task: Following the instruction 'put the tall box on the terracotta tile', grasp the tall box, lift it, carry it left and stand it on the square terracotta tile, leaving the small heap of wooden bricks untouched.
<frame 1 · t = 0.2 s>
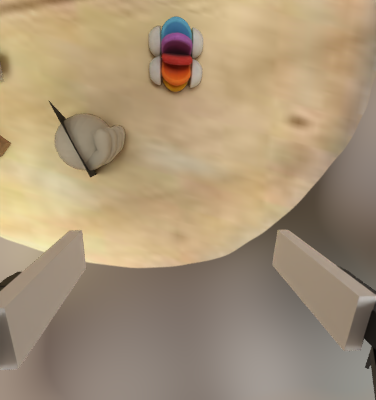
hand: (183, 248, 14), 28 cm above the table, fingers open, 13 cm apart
decorative object: (103, 140, 38), on the table
rainbow disc rolling toy: (175, 63, 36), on the table
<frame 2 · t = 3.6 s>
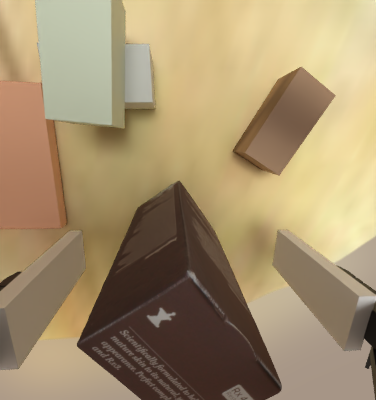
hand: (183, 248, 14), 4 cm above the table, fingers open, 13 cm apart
box: (176, 221, 18), on the table
pale green brick: (97, 70, 12), point 3 cm above the table, touching grey brick
walnut brick: (268, 127, 17), on the table
grey brick: (111, 86, 15), on the table, touching pale green brick
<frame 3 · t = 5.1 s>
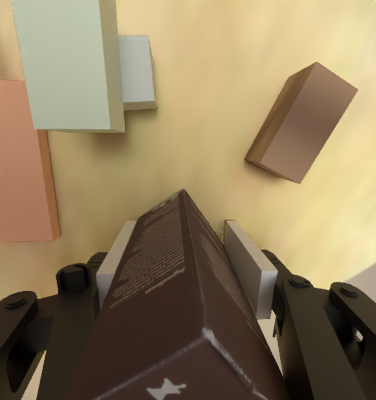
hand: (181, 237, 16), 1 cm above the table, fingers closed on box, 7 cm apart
box: (181, 232, 17), on the table, touching gripper
pale green brick: (90, 70, 11), point 3 cm above the table, touching grey brick
walnut brick: (281, 130, 15), on the table
grey brick: (108, 86, 14), on the table, touching pale green brick
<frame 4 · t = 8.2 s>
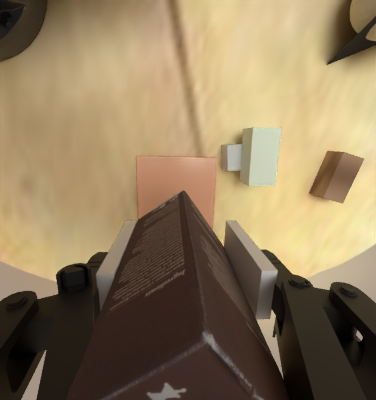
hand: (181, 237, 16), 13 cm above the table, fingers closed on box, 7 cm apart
box: (181, 233, 17), point 12 cm above the table, touching gripper
decorative object: (359, 13, 25), on the table
pale green brick: (253, 155, 25), point 3 cm above the table, touching grey brick
walnut brick: (326, 175, 30), on the table
tile: (176, 194, 28), on the table
grey brick: (243, 155, 28), on the table, touching pale green brick
when the fingers open (2 cm above the table, at t = 10.7 s): box stays where it is, resting on tile.
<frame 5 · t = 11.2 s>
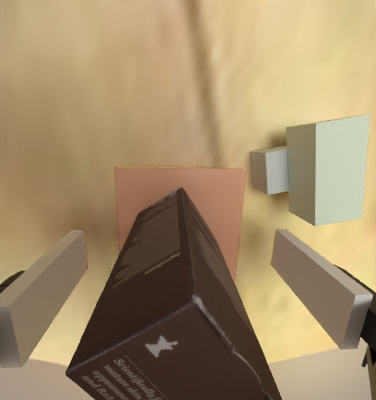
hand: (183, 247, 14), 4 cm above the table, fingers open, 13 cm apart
box: (177, 228, 18), point 1 cm above the table, touching tile
pale green brick: (308, 167, 15), point 3 cm above the table, touching grey brick
tile: (180, 225, 18), on the table
grey brick: (285, 163, 18), on the table, touching pale green brick
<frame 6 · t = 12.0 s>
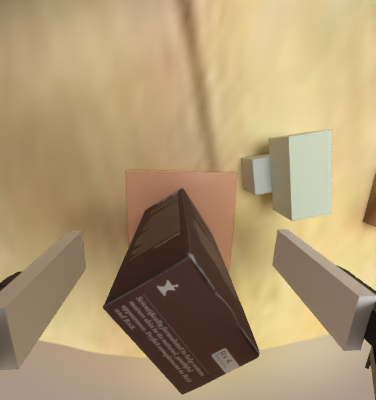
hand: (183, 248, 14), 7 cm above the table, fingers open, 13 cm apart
box: (179, 224, 20), point 1 cm above the table, touching tile
pale green brick: (288, 172, 18), point 3 cm above the table, touching grey brick
tile: (181, 221, 21), on the table
grey brick: (272, 168, 21), on the table, touching pale green brick
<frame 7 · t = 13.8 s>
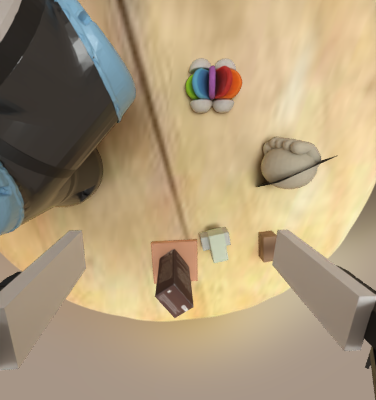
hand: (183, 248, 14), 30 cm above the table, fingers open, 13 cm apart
box: (174, 262, 48), point 1 cm above the table, touching tile
decorative object: (271, 160, 45), on the table
pale green brick: (215, 241, 45), point 3 cm above the table, touching grey brick
walnut brick: (264, 243, 49), on the table
tile: (175, 260, 49), on the table
rainbow disc rolling toy: (210, 90, 40), on the table
grey brick: (213, 235, 48), on the table, touching pale green brick
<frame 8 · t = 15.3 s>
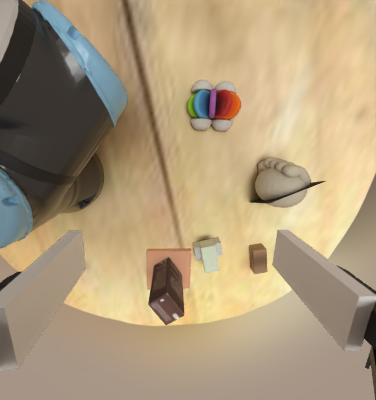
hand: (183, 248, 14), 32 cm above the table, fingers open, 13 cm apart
box: (167, 270, 50), point 1 cm above the table, touching tile
decorative object: (265, 177, 47), on the table
pale green brick: (207, 252, 47), point 3 cm above the table, touching grey brick
walnut brick: (255, 255, 52), on the table
tile: (168, 268, 50), on the table
rainbow disc rolling toy: (210, 108, 42), on the table
grey brick: (206, 245, 50), on the table, touching pale green brick
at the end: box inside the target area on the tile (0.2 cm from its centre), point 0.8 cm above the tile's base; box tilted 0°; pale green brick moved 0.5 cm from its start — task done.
